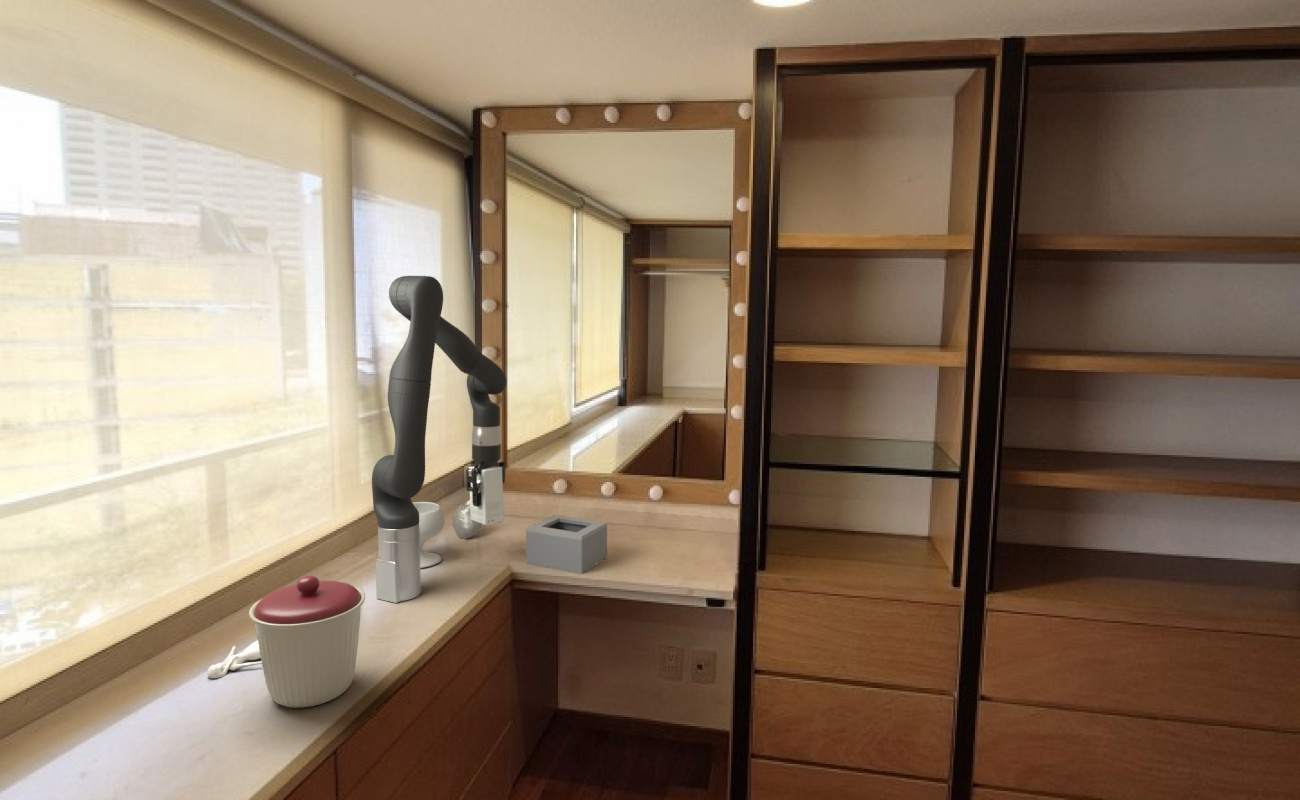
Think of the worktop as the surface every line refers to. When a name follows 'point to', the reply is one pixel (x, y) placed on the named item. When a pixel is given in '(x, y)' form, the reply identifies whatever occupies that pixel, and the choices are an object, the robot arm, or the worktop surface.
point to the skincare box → (489, 497)
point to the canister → (308, 640)
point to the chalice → (429, 529)
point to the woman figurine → (236, 661)
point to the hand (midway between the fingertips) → (486, 502)
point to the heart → (465, 522)
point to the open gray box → (566, 543)
